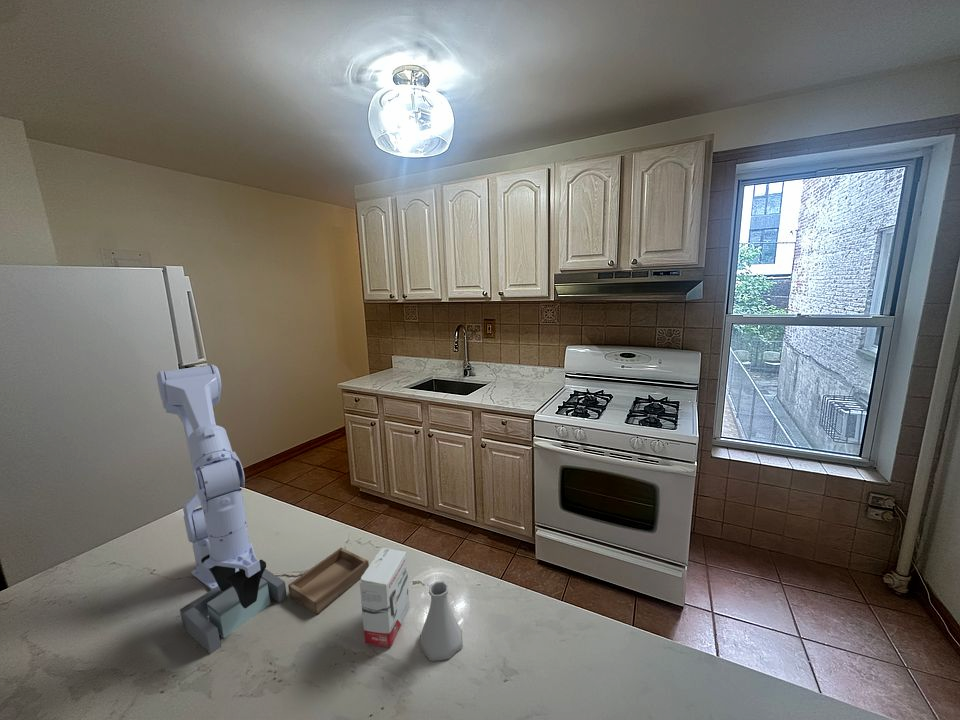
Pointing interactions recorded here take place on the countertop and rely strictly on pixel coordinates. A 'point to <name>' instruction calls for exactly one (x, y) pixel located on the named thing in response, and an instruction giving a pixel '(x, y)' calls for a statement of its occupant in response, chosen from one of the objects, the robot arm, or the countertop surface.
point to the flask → (440, 626)
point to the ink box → (384, 596)
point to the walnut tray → (328, 580)
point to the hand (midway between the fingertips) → (238, 595)
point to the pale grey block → (235, 609)
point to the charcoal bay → (198, 612)
